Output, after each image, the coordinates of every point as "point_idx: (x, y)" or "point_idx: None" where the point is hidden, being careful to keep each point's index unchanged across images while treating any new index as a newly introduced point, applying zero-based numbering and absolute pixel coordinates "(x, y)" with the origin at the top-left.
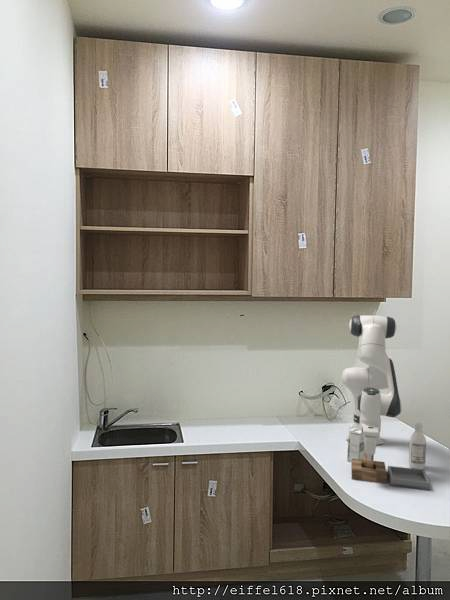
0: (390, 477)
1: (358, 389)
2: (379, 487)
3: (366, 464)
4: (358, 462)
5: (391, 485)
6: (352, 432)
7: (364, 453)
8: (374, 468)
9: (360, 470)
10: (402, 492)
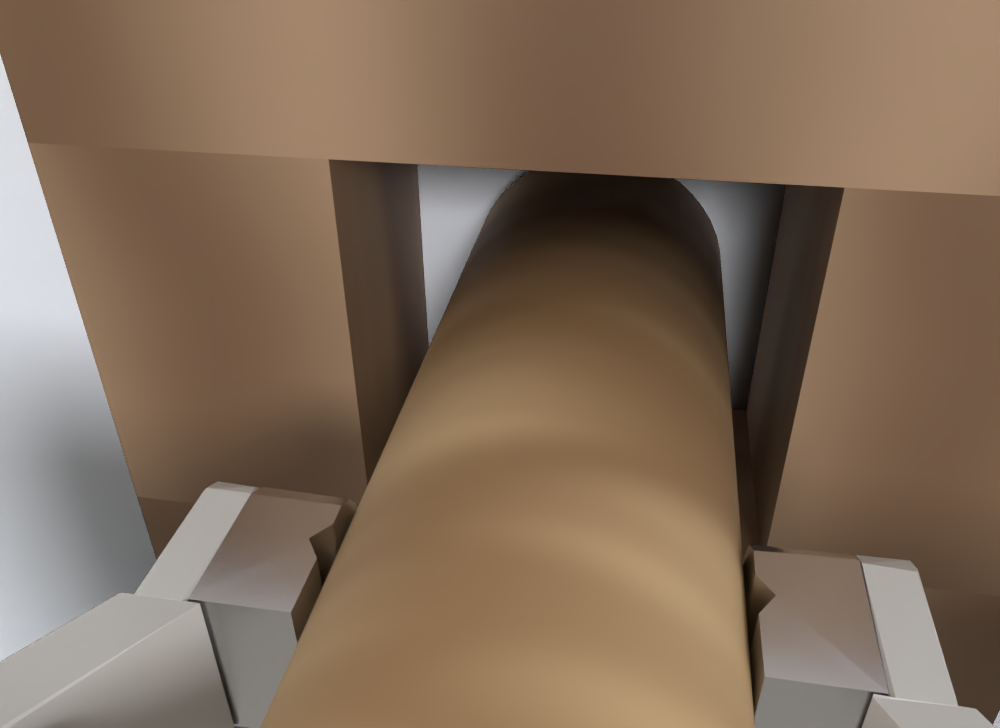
0: None
1: None
2: (3, 376)
3: (428, 355)
4: (838, 82)
5: None
6: None
7: (425, 571)
8: (754, 467)
9: (28, 100)
10: (24, 629)
